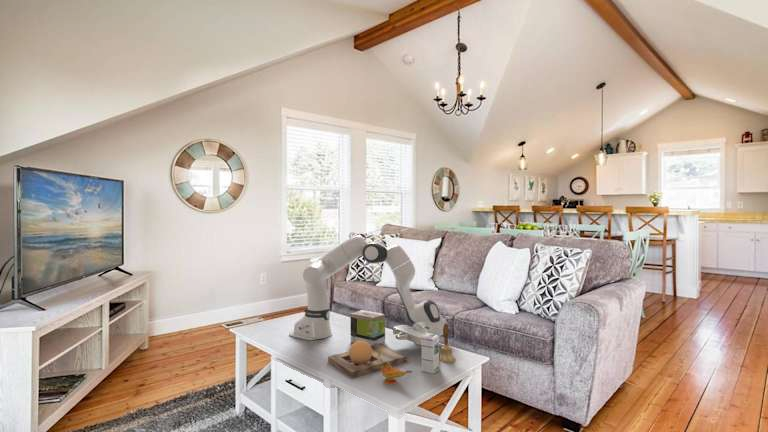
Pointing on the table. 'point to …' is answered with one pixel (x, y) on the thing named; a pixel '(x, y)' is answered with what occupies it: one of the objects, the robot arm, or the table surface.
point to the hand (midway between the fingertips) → (397, 337)
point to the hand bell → (446, 347)
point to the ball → (360, 352)
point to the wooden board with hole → (355, 371)
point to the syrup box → (430, 353)
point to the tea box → (368, 327)
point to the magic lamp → (391, 372)
